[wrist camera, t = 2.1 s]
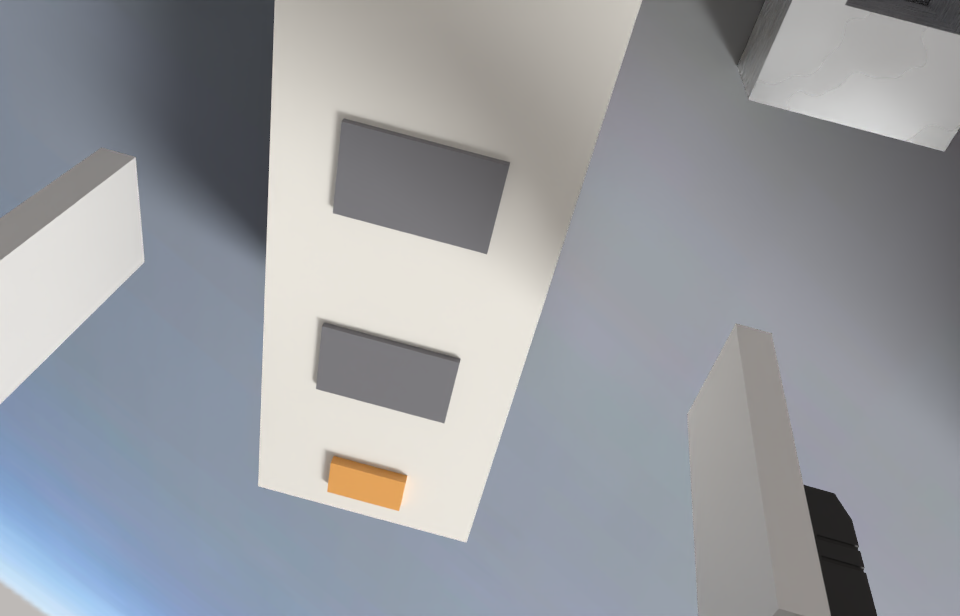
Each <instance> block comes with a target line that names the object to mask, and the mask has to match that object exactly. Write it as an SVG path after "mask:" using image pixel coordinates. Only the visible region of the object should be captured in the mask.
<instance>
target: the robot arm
mask: <svg viewBox="0 0 960 616" xmlns="http://www.w3.org/2000/svg"><path fill="white" fill-rule="evenodd" d="M143 263H144V250H143V238H142V226H141V215H140V203H139V191H138V179H137V167H136V157H134V156H130V155H126V154H123V153H119V152H116V151H112V150H108V149H105V148H100V149H99V150H97V151H96V152H94V153H93V154H91V155H90V156H89V157H87V158H86V159H84V160H83V161H81V162H80V163H79V164H77V165H76V166H74V167H73V168H71V169H70V170H69V171H67V172H66V173H64V174H63V175H61V176H60V177H59V178H57V179H56V180H54V181H53V182H51V183H50V184H49V185H47V186H46V187H44V188H43V189H41V190H40V191H39V192H37V193H36V194H34V195H33V196H31V197H30V198H29V199H27V200H26V201H24V202H23V203H21V204H20V205H19V206H17V207H16V208H14V209H13V210H11V211H10V212H9V213H7V214H6V215H4V216H3V217H1V218H0V404H1V403H2V402H3V401H4V400H5V399H6V398H7V397H8V396H9V395H10V394H11V393H12V392H13V391H14V390H15V389H16V388H17V387H18V386H19V385H20V384H21V383H22V382H23V381H24V380H25V379H26V378H27V377H28V376H29V375H30V374H31V373H32V372H33V371H34V370H35V369H36V368H37V367H38V366H39V365H41V364H42V363H43V362H44V361H45V360H46V359H47V358H48V357H49V356H50V355H51V354H52V353H53V352H54V351H55V350H56V349H57V348H58V347H59V346H60V345H61V344H62V343H63V342H64V341H65V340H66V339H67V338H68V337H69V336H70V335H71V334H72V333H73V332H74V331H75V330H76V329H77V328H78V327H79V326H80V325H81V324H82V323H83V322H84V321H85V320H86V319H87V318H88V317H89V316H90V315H91V314H92V313H93V312H94V311H95V310H96V309H97V308H98V307H99V306H100V305H101V304H102V303H103V302H104V301H105V300H106V299H107V298H109V297H110V296H111V295H112V294H113V293H114V292H115V291H116V290H117V289H118V288H119V287H120V286H121V285H122V284H123V283H124V282H125V281H126V280H127V279H128V278H129V277H130V276H131V275H132V274H133V273H134V272H135V271H136V270H137V269H138V268H139V267H140V266H141V265H142V264H143ZM687 418H688V437H689V455H690V473H691V491H692V509H693V528H694V546H695V564H696V582H697V600H698V616H877V613H876V609H875V606H874V602H873V598H872V594H871V591H870V587H869V583H868V579H867V575H866V573H864V572H863V570H864V564H863V560H862V557H861V553H860V551H858V547H859V545H858V541H857V538H856V534H855V530H854V526H853V523H852V519H851V518H850V516H849V515H848V513H847V512H846V510H845V509H844V507H843V506H842V504H841V503H840V501H839V500H838V498H837V497H836V495H835V494H834V493H831V492H827V491H824V490H820V489H816V488H813V487H809V486H806V485H803V481H802V476H801V471H800V466H799V462H798V457H797V452H796V447H795V443H794V438H793V433H792V428H791V424H790V419H789V414H788V409H787V405H786V400H785V395H784V390H783V386H782V381H781V376H780V371H779V367H778V362H777V357H776V352H775V347H774V343H773V338H772V333H768V332H765V331H761V330H758V329H754V328H750V327H747V326H743V325H740V324H735V326H734V328H733V330H732V331H731V333H730V335H729V337H728V339H727V341H726V343H725V345H724V346H723V348H722V350H721V352H720V354H719V356H718V358H717V360H716V361H715V363H714V365H713V367H712V369H711V371H710V373H709V375H708V376H707V378H706V380H705V382H704V384H703V386H702V388H701V390H700V391H699V393H698V395H697V397H696V399H695V401H694V403H693V405H692V406H691V408H690V410H689V412H688V414H687Z"/></svg>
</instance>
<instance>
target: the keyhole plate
mask: <svg viewBox="0 0 960 616" xmlns="http://www.w3.org/2000/svg"><path fill="white" fill-rule="evenodd" d="M737 67H738V70H739V73H740V76H741V79H742V82H743V85H744V88H745V91H746V94H747V97H748V100H751V101H755V102H758V103H762V104H766V105H770V106H774V107H777V108H781V109H785V110H789V111H793V112H796V113H800V114H804V115H808V116H812V117H815V118H819V119H823V120H827V121H831V122H834V123H838V124H842V125H846V126H849V127H853V128H857V129H861V130H865V131H868V132H872V133H876V134H880V135H884V136H887V137H891V138H895V139H899V140H903V141H906V142H910V143H914V144H918V145H922V146H925V147H929V148H933V149H937V150H941V151H944V152H945V150H946V148H947V147H948V145H949V144H950V142H951V141H952V139H953V137H954V136H955V134H956V133H957V131H958V130H959V128H960V0H930V2H929V4H928V6H925V5H921V4H917V3H913V2H910V1H906V0H765V2H764V5H763V7H762V10H761V12H760V14H759V17H758V19H757V21H756V24H755V26H754V28H753V31H752V33H751V36H750V38H749V40H748V43H747V45H746V47H745V50H744V52H743V55H742V57H741V59H740V62H739V64H738V66H737Z"/></svg>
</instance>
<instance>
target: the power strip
mask: <svg viewBox="0 0 960 616" xmlns="http://www.w3.org/2000/svg"><path fill="white" fill-rule="evenodd" d="M641 3H642V0H275V10H274V39H273V69H272V98H271V128H270V157H269V187H268V216H267V246H266V275H265V305H264V334H263V363H262V393H261V422H260V452H259V481H258V486H259V487H263V488H267V489H270V490H274V491H278V492H282V493H285V494H289V495H293V496H296V497H300V498H304V499H307V500H311V501H315V502H319V503H322V504H326V505H330V506H333V507H337V508H341V509H344V510H348V511H352V512H356V513H359V514H363V515H367V516H370V517H374V518H378V519H382V520H385V521H389V522H393V523H396V524H400V525H404V526H407V527H411V528H415V529H419V530H422V531H426V532H430V533H433V534H437V535H441V536H444V537H448V538H452V539H456V540H459V541H463V542H467V539H468V536H469V533H470V530H471V527H472V524H473V521H474V517H475V514H476V511H477V508H478V505H479V502H480V499H481V496H482V493H483V490H484V487H485V484H486V480H487V477H488V474H489V471H490V468H491V465H492V462H493V459H494V456H495V453H496V450H497V447H498V443H499V440H500V437H501V434H502V431H503V428H504V425H505V422H506V419H507V416H508V413H509V410H510V406H511V403H512V400H513V397H514V394H515V391H516V388H517V385H518V382H519V379H520V376H521V373H522V369H523V366H524V363H525V360H526V357H527V354H528V351H529V348H530V345H531V342H532V339H533V336H534V332H535V329H536V326H537V323H538V320H539V317H540V314H541V311H542V308H543V305H544V302H545V299H546V295H547V292H548V289H549V286H550V283H551V280H552V277H553V274H554V271H555V268H556V265H557V262H558V258H559V255H560V252H561V249H562V246H563V243H564V240H565V237H566V234H567V231H568V228H569V225H570V221H571V218H572V215H573V212H574V209H575V206H576V203H577V200H578V197H579V194H580V191H581V188H582V184H583V181H584V178H585V175H586V172H587V169H588V166H589V163H590V160H591V157H592V154H593V151H594V147H595V144H596V141H597V138H598V135H599V132H600V129H601V126H602V123H603V120H604V117H605V114H606V110H607V107H608V104H609V101H610V98H611V95H612V92H613V89H614V86H615V83H616V80H617V77H618V73H619V70H620V67H621V64H622V61H623V58H624V55H625V52H626V49H627V46H628V43H629V40H630V36H631V33H632V30H633V27H634V24H635V21H636V18H637V15H638V12H639V9H640V6H641Z"/></svg>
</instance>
